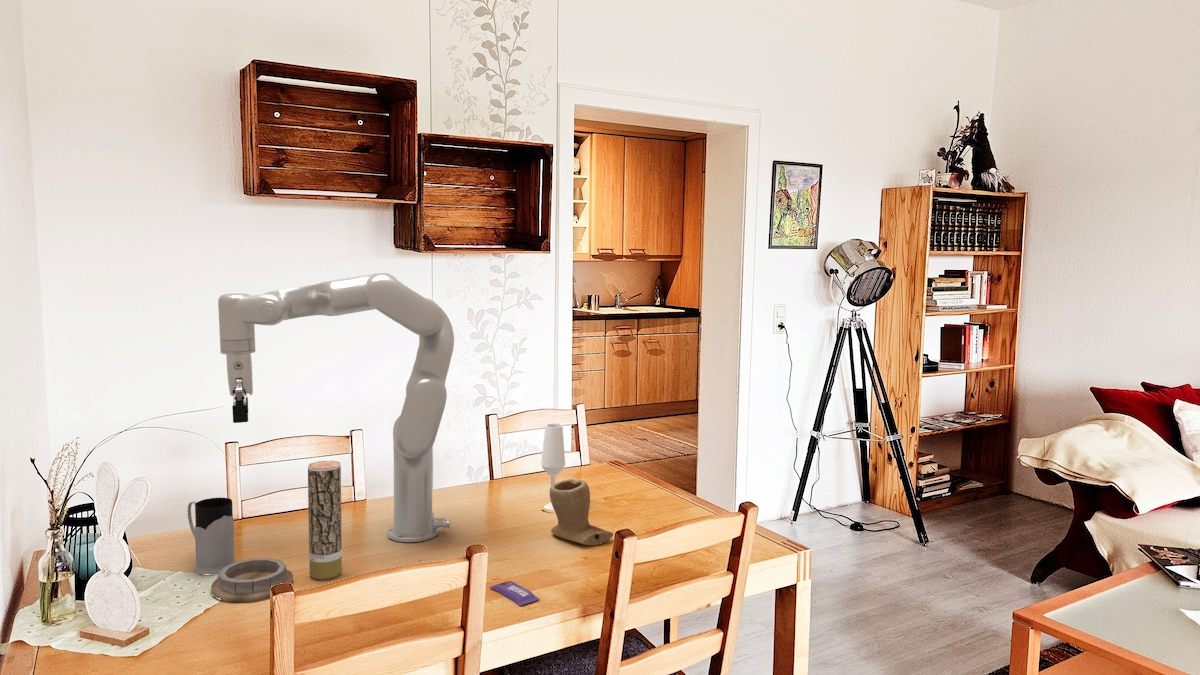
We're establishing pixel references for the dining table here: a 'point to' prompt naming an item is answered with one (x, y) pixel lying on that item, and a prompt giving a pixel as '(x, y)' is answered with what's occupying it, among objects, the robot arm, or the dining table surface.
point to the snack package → (515, 592)
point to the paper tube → (324, 519)
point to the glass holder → (213, 534)
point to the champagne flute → (553, 453)
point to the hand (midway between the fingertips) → (240, 418)
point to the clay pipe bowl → (575, 513)
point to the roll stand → (250, 580)
